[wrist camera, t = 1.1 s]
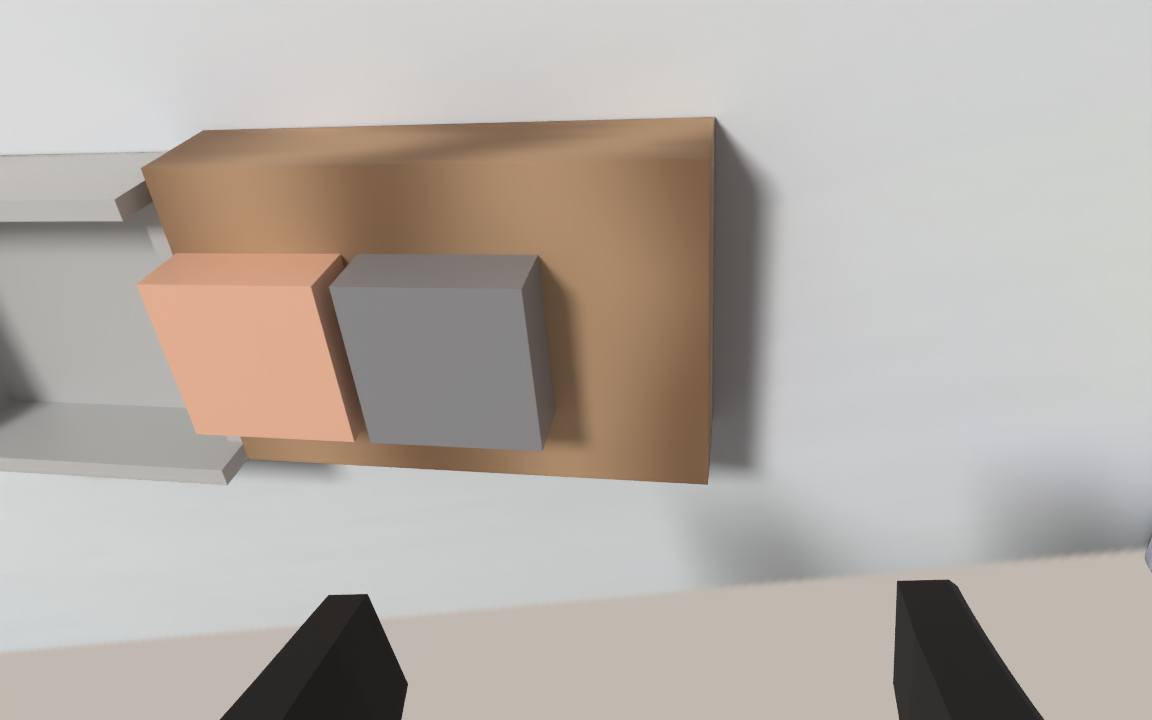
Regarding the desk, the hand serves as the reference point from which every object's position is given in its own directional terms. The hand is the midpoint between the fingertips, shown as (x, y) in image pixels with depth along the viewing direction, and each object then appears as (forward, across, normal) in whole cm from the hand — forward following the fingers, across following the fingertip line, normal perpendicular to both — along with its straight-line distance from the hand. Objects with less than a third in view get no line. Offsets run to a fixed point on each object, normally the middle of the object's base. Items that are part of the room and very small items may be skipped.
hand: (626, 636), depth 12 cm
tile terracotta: (+8, +9, -1) cm, 12 cm away
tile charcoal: (+8, +4, 0) cm, 9 cm away
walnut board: (+11, +5, 0) cm, 12 cm away
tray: (+11, +16, -1) cm, 19 cm away
